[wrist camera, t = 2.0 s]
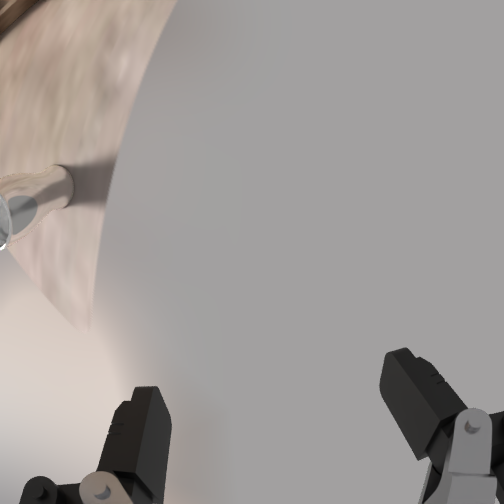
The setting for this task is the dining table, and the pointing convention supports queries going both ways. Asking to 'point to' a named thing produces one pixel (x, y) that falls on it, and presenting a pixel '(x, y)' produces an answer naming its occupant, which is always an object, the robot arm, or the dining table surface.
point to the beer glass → (31, 201)
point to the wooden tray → (12, 11)
